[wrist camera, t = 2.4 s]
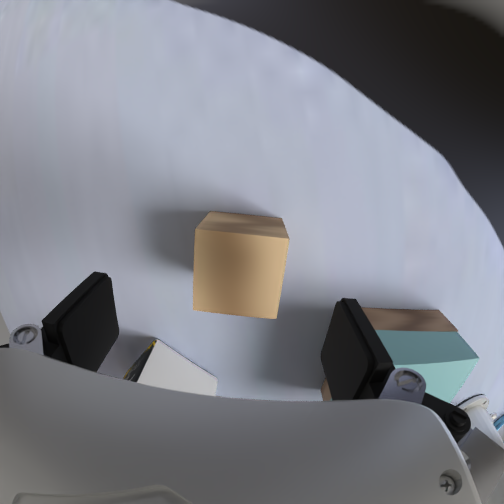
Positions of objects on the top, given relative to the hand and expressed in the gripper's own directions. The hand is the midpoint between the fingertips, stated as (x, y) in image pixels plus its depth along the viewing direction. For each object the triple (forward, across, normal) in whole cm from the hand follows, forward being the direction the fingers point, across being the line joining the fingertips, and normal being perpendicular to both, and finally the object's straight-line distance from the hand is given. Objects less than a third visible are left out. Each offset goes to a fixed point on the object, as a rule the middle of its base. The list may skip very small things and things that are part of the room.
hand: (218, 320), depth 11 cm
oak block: (+10, -1, 0) cm, 10 cm away
